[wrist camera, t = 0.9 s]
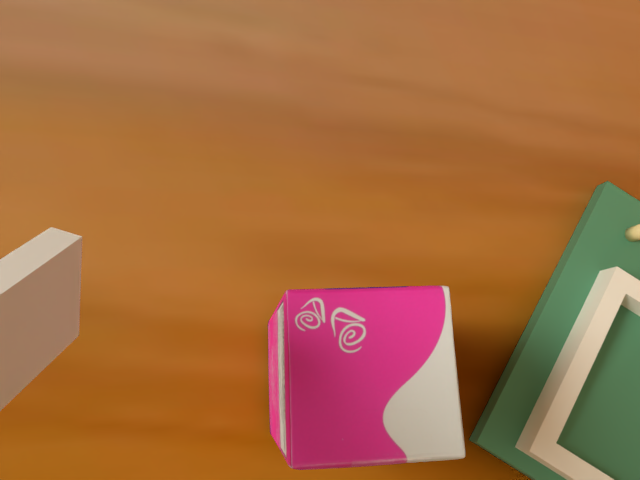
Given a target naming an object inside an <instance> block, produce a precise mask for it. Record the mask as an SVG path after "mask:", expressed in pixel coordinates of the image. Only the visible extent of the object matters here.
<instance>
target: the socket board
mask: <svg viewBox="0 0 640 480" xmlns="http://www.w3.org/2000/svg"><path fill="white" fill-rule="evenodd" d="M469 440H470V441H472V442H473V443H475V444H476V445H478V446H480V447H481V448H483V449H484V450H486V451H488V452H489V453H491V454H492V455H494V456H496V457H497V458H499V459H500V460H502V461H503V462H505V463H507V464H508V465H510V466H511V467H513V468H515V469H516V470H518V471H519V472H521V473H523V474H524V475H526V476H527V477H529V478H531V479H532V480H640V201H638V200H637V199H635V198H634V197H632V196H631V195H629V194H627V193H626V192H624V191H623V190H621V189H620V188H618V187H616V186H615V185H613V184H612V183H610V182H609V181H606V182H604V183H602V184H600V185H598V186H597V187H596V189H595V191H594V193H593V195H592V197H591V199H590V201H589V203H588V205H587V207H586V209H585V211H584V213H583V215H582V217H581V219H580V221H579V223H578V225H577V227H576V229H575V231H574V233H573V235H572V237H571V239H570V241H569V243H568V245H567V247H566V249H565V251H564V253H563V255H562V257H561V259H560V261H559V263H558V265H557V266H556V268H555V270H554V272H553V274H552V276H551V278H550V280H549V282H548V284H547V286H546V288H545V290H544V292H543V294H542V296H541V298H540V300H539V302H538V304H537V306H536V308H535V310H534V312H533V314H532V316H531V318H530V320H529V322H528V324H527V326H526V328H525V330H524V332H523V334H522V336H521V338H520V340H519V342H518V344H517V346H516V348H515V350H514V352H513V354H512V356H511V358H510V360H509V362H508V364H507V366H506V367H505V369H504V371H503V373H502V375H501V377H500V379H499V381H498V383H497V385H496V387H495V389H494V391H493V393H492V395H491V397H490V399H489V401H488V403H487V405H486V407H485V409H484V411H483V413H482V415H481V417H480V419H479V421H478V423H477V425H476V427H475V429H474V431H473V433H472V435H471V437H470V439H469Z"/></svg>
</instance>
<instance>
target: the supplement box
mask: <svg viewBox="0 0 640 480" xmlns="http://www.w3.org/2000/svg"><path fill="white" fill-rule="evenodd" d="M268 358H269V408H270V433H271V435H272V437H273V438H274V440H275V442H276V444H277V445H278V447H279V449H280V451H281V452H282V454H283V455H284V457H285V460H286V462H287V463H288V465H289V467H291V468H293V469H298V470H305V469H327V468H344V467H361V466H374V465H388V464H400V463H415V462H428V461H441V460H453V459H462V458H464V457H465V456H466V454H465V443H464V433H463V424H462V414H461V405H460V396H459V386H458V376H457V366H456V357H455V348H454V337H453V325H452V313H451V303H450V290H449V287H447V286H403V287H368V288H333V289H297V290H287V291H286V292H285V294H284V295H283V297H282V299H281V301H280V303H279V304H278V306H277V308H276V310H275V312H274V313H273V315H272V317H271V319H270V320H269V322H268Z"/></svg>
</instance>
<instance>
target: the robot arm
mask: <svg viewBox="0 0 640 480" xmlns="http://www.w3.org/2000/svg"><path fill="white" fill-rule="evenodd" d="M81 258H82V236H79V235H75V234H72V233H69V232H66V231H62V230H59V229H56V228H52V227H50V228H49V229H47V230H46V231H44V232H43V233H41V234H39V235H38V236H36V237H35V238H33V239H32V240H30V241H28V242H27V243H25V244H24V245H22V246H21V247H19V248H17V249H16V250H14V251H13V252H11V253H9V254H8V255H6V256H5V257H3V258H2V259H0V411H1V410H2V409H3V408H4V407H5V406H6V405H7V404H8V403H9V402H10V401H11V400H12V399H13V398H14V397H15V396H16V395H17V394H18V393H19V392H21V391H22V390H23V389H24V388H25V387H26V386H27V385H28V384H29V383H30V382H31V381H32V380H33V379H34V378H35V377H36V376H37V375H38V374H39V373H40V372H41V371H42V370H43V369H44V368H46V367H47V366H48V365H49V364H50V363H51V362H52V361H53V360H54V359H55V358H56V357H57V356H58V355H59V354H60V353H61V352H62V351H63V350H64V349H65V348H66V347H67V346H68V345H69V344H71V343H72V342H73V341H74V340H75V339H76V338H77V337H78V336H79V316H80V287H81Z"/></svg>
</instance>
